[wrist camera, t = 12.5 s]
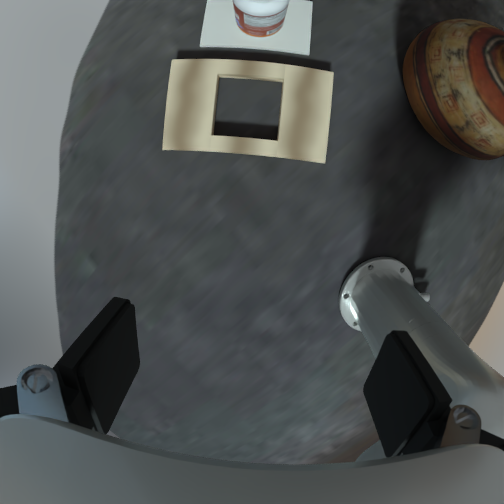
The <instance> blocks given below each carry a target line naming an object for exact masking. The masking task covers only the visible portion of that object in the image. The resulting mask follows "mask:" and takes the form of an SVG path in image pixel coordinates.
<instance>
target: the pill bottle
mask: <svg viewBox="0 0 504 504" xmlns="http://www.w3.org/2000/svg"><path fill="white" fill-rule="evenodd" d="M288 4H289V0H233V6H234V12H235V19H236V23H237V26H238V27H239V29H240V30H241V31H242V32H243V33H245V34H246V35H248V36H251V37H255V38H266V37H270V36H272V35H274V34H276V33H277V32H278V31H280V29H281V28H282V26H283V23H284V20H285V16H286V12H287V8H288Z"/></svg>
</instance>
